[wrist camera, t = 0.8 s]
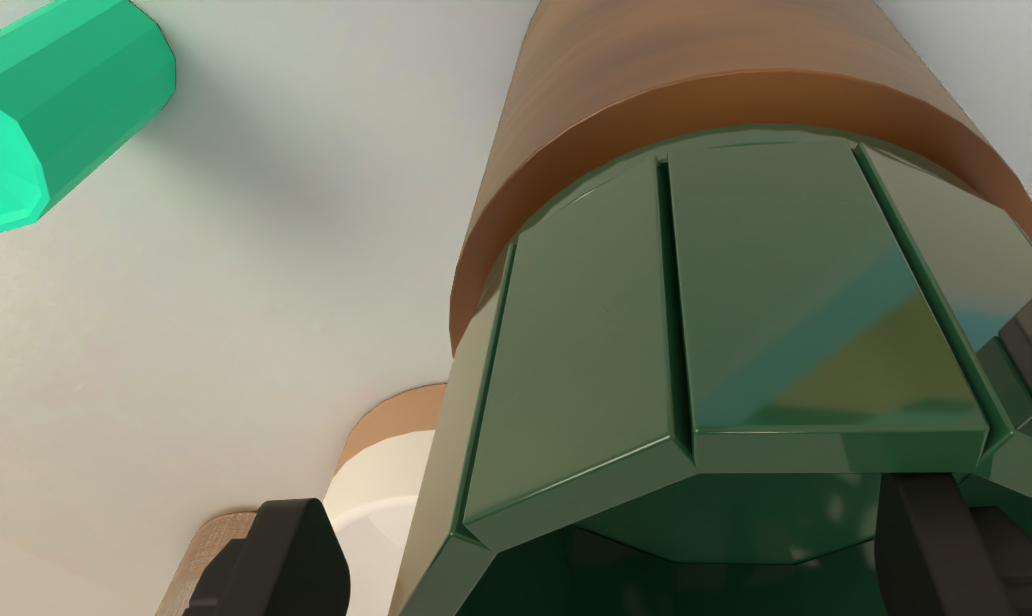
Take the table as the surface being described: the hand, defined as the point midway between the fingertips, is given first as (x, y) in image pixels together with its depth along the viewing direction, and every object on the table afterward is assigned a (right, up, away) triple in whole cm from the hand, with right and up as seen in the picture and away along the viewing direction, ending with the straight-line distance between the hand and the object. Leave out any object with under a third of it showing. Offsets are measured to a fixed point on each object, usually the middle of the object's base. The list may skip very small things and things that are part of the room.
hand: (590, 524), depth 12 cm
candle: (-19, +14, +26) cm, 35 cm away
